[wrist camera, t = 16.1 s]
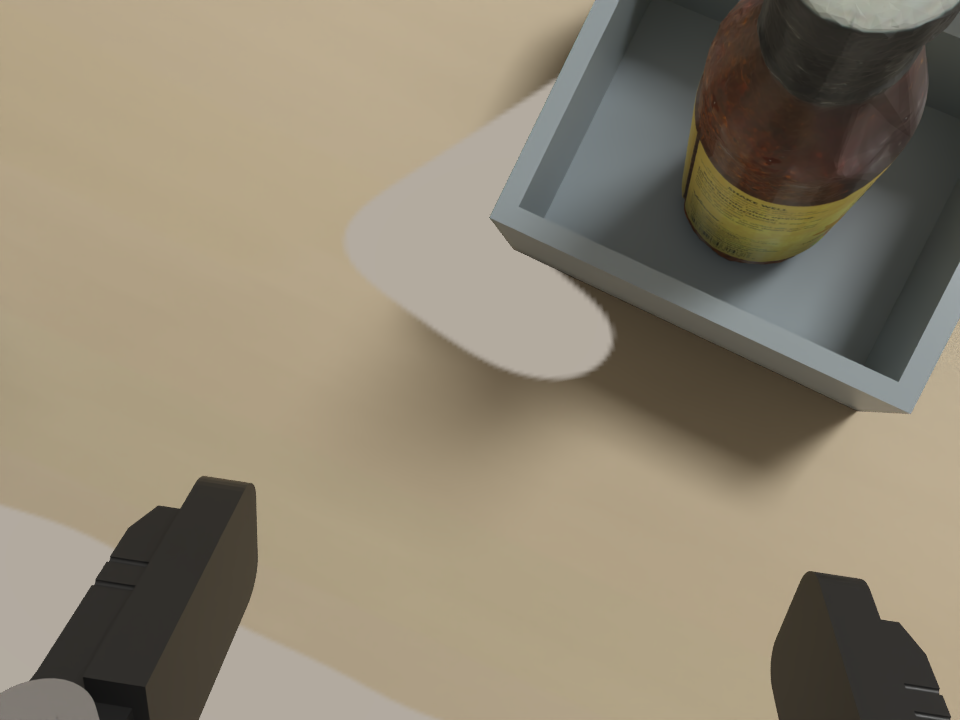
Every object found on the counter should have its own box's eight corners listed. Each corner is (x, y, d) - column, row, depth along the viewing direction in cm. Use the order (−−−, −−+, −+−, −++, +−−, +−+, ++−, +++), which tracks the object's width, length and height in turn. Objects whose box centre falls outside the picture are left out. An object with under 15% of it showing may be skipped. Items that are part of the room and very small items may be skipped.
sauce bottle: (848, 253, 36) (1106, 81, 17) (693, 282, 37) (765, 154, 18) (816, 98, 37) (1031, -246, 17) (663, 131, 38) (702, -158, 18)
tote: (513, 249, 40) (489, 217, 33) (644, -19, 39) (647, -108, 32) (857, 411, 37) (910, 413, 30) (1002, 126, 36) (1089, 62, 30)
